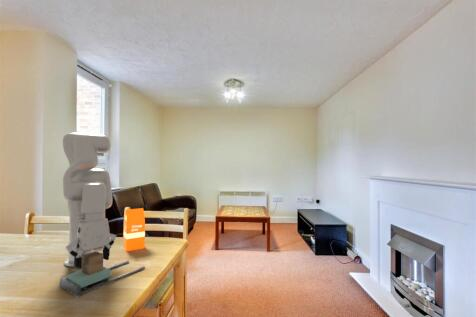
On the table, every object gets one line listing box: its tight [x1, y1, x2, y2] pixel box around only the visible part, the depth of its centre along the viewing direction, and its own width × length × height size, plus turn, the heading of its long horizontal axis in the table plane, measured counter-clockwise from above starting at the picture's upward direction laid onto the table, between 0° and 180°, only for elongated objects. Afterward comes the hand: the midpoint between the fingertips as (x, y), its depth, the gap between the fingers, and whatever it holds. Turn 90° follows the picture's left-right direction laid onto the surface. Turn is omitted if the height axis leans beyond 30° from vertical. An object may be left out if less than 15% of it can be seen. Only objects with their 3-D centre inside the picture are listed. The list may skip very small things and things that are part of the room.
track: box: [59, 260, 146, 297], centre depth 95 cm, size 12×26×3 cm, turn 147°
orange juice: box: [123, 207, 146, 252], centre depth 128 cm, size 8×9×20 cm
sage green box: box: [65, 266, 112, 291], centre depth 89 cm, size 9×11×4 cm
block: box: [81, 250, 104, 275], centre depth 91 cm, size 5×5×6 cm
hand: (92, 263), depth 90 cm, fingers open, 9 cm apart
